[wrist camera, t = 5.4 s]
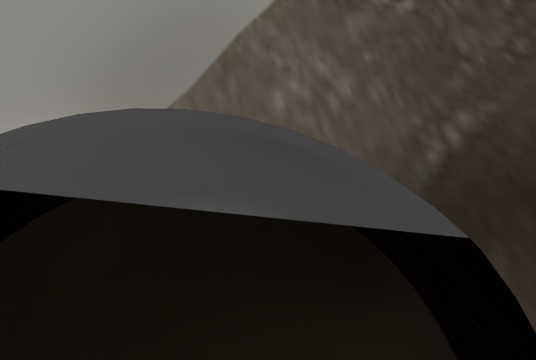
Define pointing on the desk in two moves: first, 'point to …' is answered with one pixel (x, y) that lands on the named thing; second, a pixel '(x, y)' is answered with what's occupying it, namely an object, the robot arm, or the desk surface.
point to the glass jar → (230, 249)
